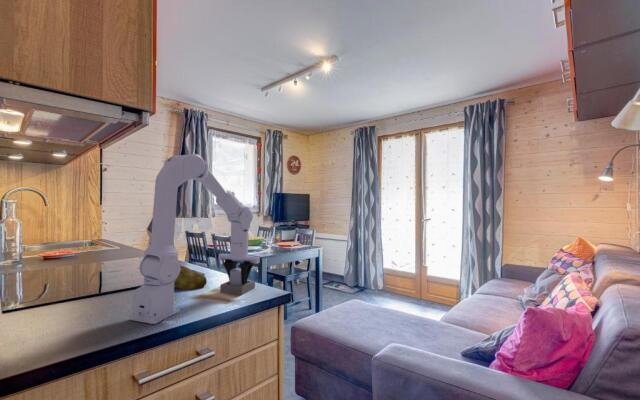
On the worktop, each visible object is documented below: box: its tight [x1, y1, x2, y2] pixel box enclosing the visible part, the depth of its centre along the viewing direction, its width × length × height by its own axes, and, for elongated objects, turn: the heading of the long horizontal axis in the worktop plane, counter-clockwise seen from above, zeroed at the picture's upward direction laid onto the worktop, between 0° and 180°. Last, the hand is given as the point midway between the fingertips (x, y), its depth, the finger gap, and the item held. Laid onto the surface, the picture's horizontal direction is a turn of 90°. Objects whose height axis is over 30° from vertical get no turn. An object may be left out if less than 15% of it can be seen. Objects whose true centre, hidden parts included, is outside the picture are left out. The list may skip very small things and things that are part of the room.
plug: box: [230, 267, 247, 286], centre depth 107 cm, size 4×4×6 cm
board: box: [191, 286, 256, 305], centre depth 103 cm, size 18×12×1 cm, turn 163°
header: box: [219, 279, 256, 296], centre depth 107 cm, size 9×8×2 cm
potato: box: [174, 265, 208, 291], centre depth 108 cm, size 8×13×8 cm, turn 81°
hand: (238, 283), depth 107 cm, fingers closed on plug, 4 cm apart
